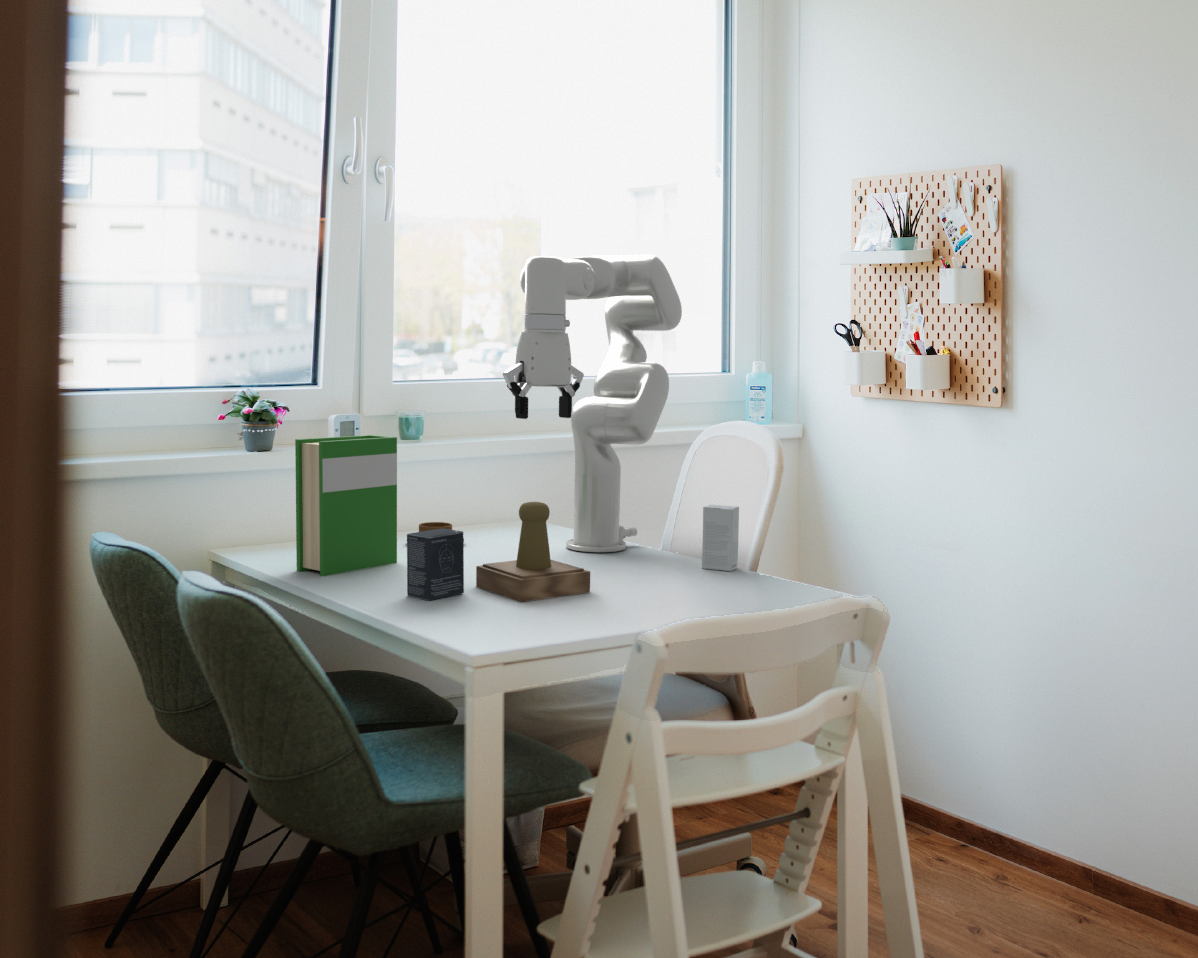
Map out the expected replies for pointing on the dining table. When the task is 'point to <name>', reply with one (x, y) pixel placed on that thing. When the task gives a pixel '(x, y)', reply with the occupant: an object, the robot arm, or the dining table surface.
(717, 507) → the skincare box
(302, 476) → the hardback book
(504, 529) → the dining table surface
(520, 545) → the cork
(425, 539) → the box
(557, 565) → the walnut plinth
